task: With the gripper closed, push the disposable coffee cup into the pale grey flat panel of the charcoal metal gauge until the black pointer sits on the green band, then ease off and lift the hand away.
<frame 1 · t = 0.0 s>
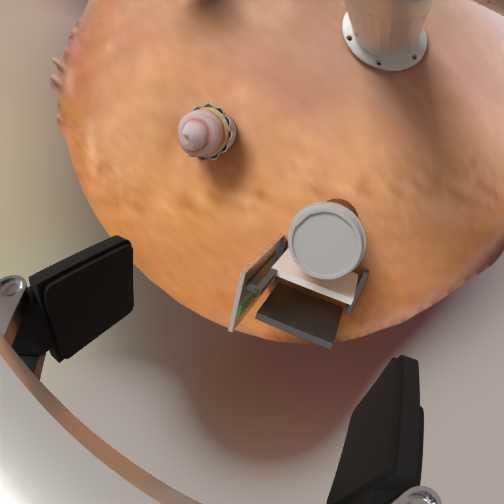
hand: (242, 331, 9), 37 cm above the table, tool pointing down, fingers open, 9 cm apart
gauge frame: (318, 275, 48), on the table
cupcake: (220, 132, 46), on the table
pale grey flat panel: (310, 281, 40), point 8 cm above the table, slide at 0.0 cm
disposable coffee cup: (337, 218, 43), on the table
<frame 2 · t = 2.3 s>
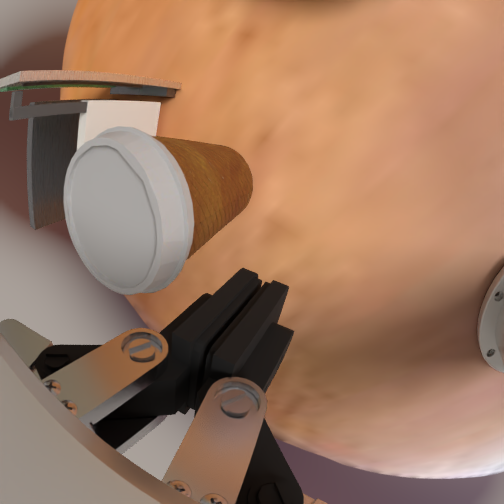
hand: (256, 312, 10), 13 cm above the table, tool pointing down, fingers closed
gauge frame: (135, 159, 27), on the table
pale grey flat panel: (89, 171, 20), point 8 cm above the table, slide at 0.0 cm
disposable coffee cup: (219, 182, 24), on the table
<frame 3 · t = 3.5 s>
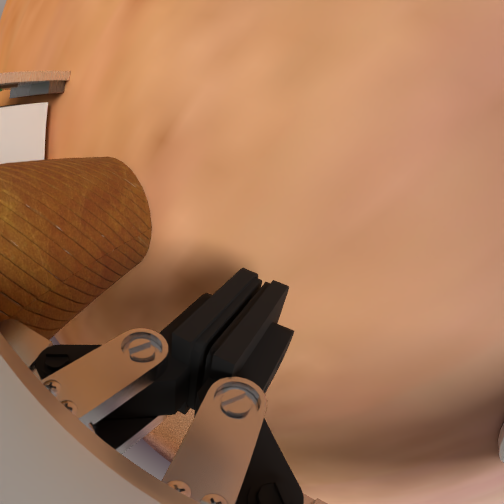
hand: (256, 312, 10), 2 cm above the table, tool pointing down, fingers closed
gauge frame: (34, 179, 17), on the table
disposable coffee cup: (113, 213, 15), on the table
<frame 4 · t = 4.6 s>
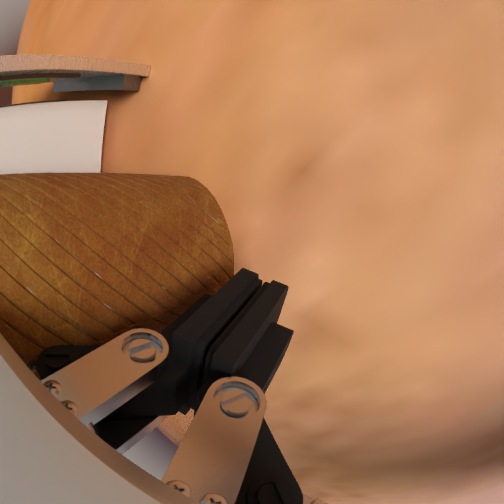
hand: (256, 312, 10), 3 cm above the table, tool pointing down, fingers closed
gauge frame: (88, 191, 17), on the table
disposable coffee cup: (190, 245, 13), point 1 cm above the table, touching pale grey flat panel, gripper
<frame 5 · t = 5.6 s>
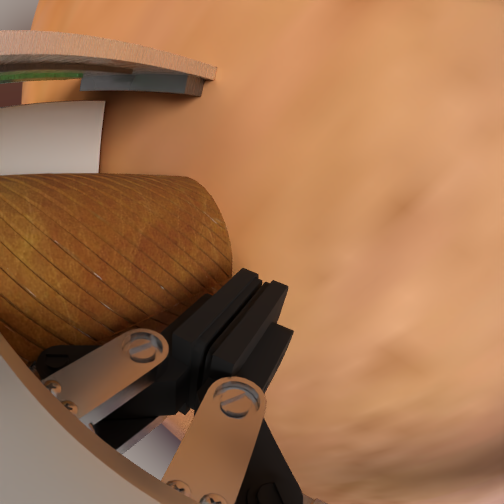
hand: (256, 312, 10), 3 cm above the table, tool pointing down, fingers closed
gauge frame: (125, 209, 15), on the table
disposable coffee cup: (189, 245, 13), point 1 cm above the table, touching pale grey flat panel, gripper
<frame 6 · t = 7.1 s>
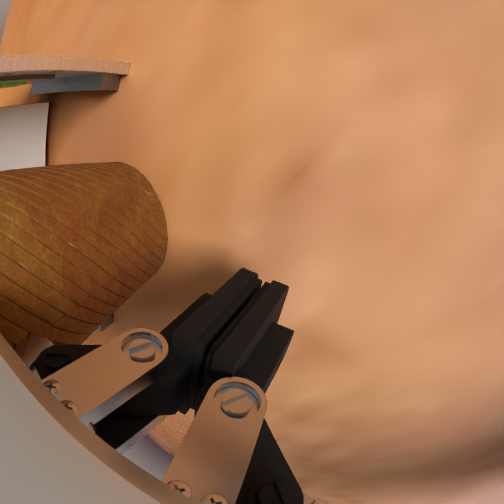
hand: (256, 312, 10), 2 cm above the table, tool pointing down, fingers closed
gauge frame: (68, 199, 15), on the table
disposable coffee cup: (123, 221, 14), on the table
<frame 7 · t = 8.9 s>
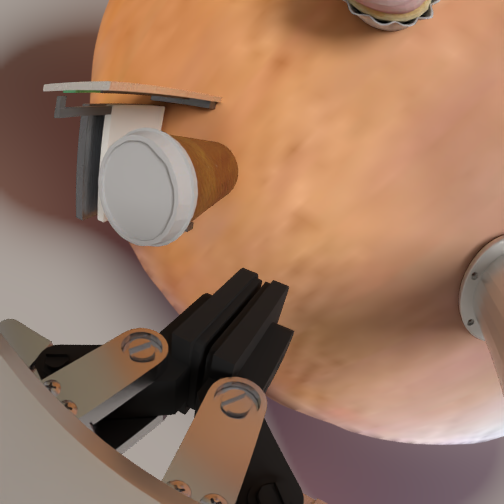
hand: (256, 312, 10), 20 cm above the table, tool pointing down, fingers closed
gauge frame: (173, 159, 32), on the table
cupcake: (383, 5, 18), on the table
pale grey flat panel: (110, 159, 26), point 8 cm above the table, slide at 5.1 cm
disposable coffee cup: (212, 170, 31), on the table
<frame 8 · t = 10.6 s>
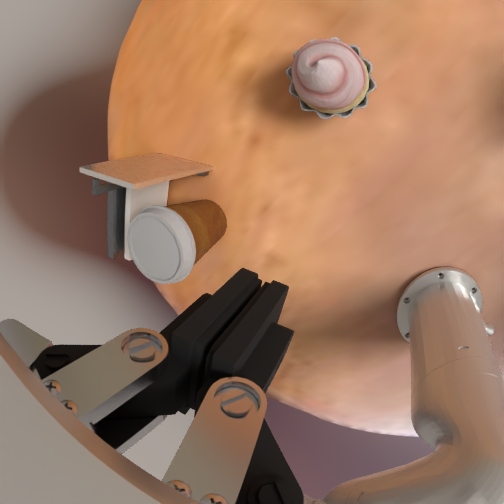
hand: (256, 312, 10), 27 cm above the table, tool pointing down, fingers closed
gauge frame: (179, 210, 44), on the table
cupcake: (336, 85, 29), on the table
pale grey flat panel: (132, 215, 38), point 8 cm above the table, slide at 5.1 cm
disposable coffee cup: (208, 220, 42), on the table
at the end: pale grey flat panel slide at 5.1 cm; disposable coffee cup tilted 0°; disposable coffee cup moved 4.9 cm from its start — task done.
